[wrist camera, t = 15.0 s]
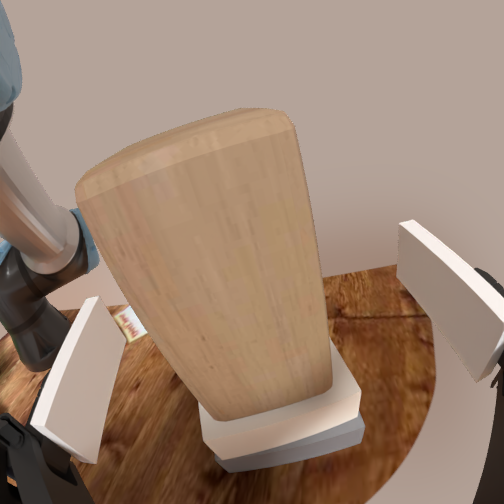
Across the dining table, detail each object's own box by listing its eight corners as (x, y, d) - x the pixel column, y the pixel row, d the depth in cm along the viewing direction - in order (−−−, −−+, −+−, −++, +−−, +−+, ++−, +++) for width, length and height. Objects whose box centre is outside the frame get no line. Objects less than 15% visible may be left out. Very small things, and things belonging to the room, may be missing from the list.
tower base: (223, 378, 36) (211, 355, 33) (326, 353, 36) (324, 328, 33) (230, 473, 24) (214, 460, 21) (360, 444, 23) (365, 426, 21)
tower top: (206, 363, 32) (192, 334, 30) (310, 330, 33) (306, 299, 31) (222, 460, 21) (203, 441, 19) (357, 416, 22) (361, 390, 20)
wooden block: (206, 342, 28) (119, 149, 18) (301, 314, 29) (252, 104, 19) (215, 428, 20) (59, 186, 10) (337, 393, 20) (296, 103, 10)
